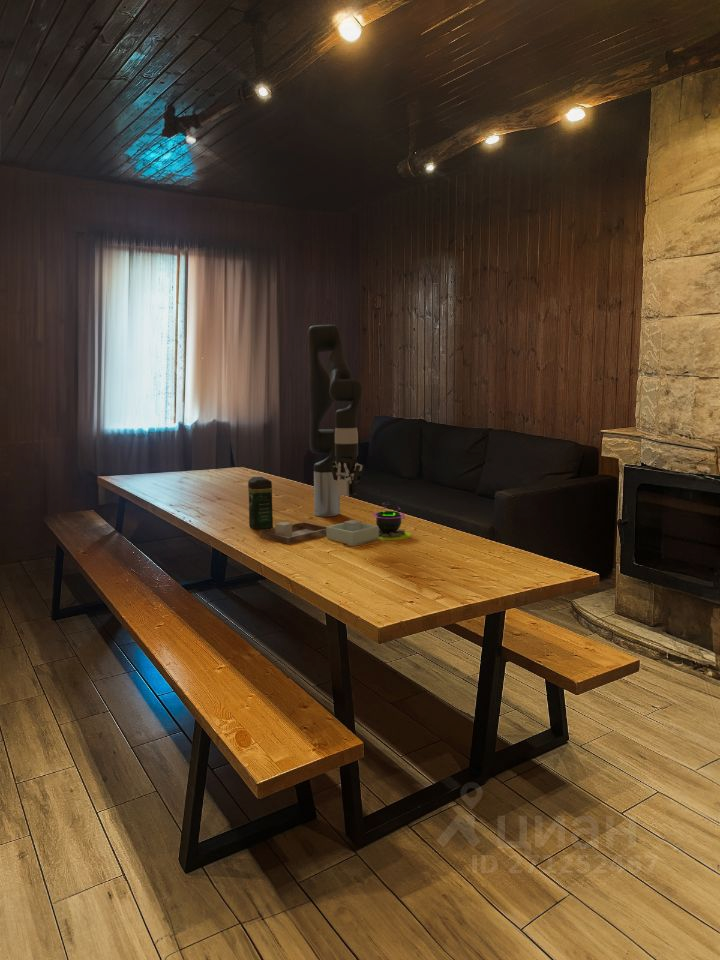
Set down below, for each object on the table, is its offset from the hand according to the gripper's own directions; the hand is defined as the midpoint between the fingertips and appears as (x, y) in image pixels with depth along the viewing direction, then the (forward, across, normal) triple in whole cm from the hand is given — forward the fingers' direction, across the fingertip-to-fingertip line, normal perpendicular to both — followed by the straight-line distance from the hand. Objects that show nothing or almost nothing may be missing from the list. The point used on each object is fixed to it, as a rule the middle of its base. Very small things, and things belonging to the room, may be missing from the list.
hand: (347, 494), depth 230 cm
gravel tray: (+16, +18, +7) cm, 25 cm away
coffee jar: (+16, +37, +8) cm, 41 cm away
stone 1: (+15, +18, +13) cm, 26 cm away
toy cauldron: (+16, -3, -17) cm, 24 cm away
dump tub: (+16, +1, -3) cm, 16 cm away
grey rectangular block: (0, 0, 0) cm, 0 cm away
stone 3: (+15, +3, -5) cm, 16 cm away
